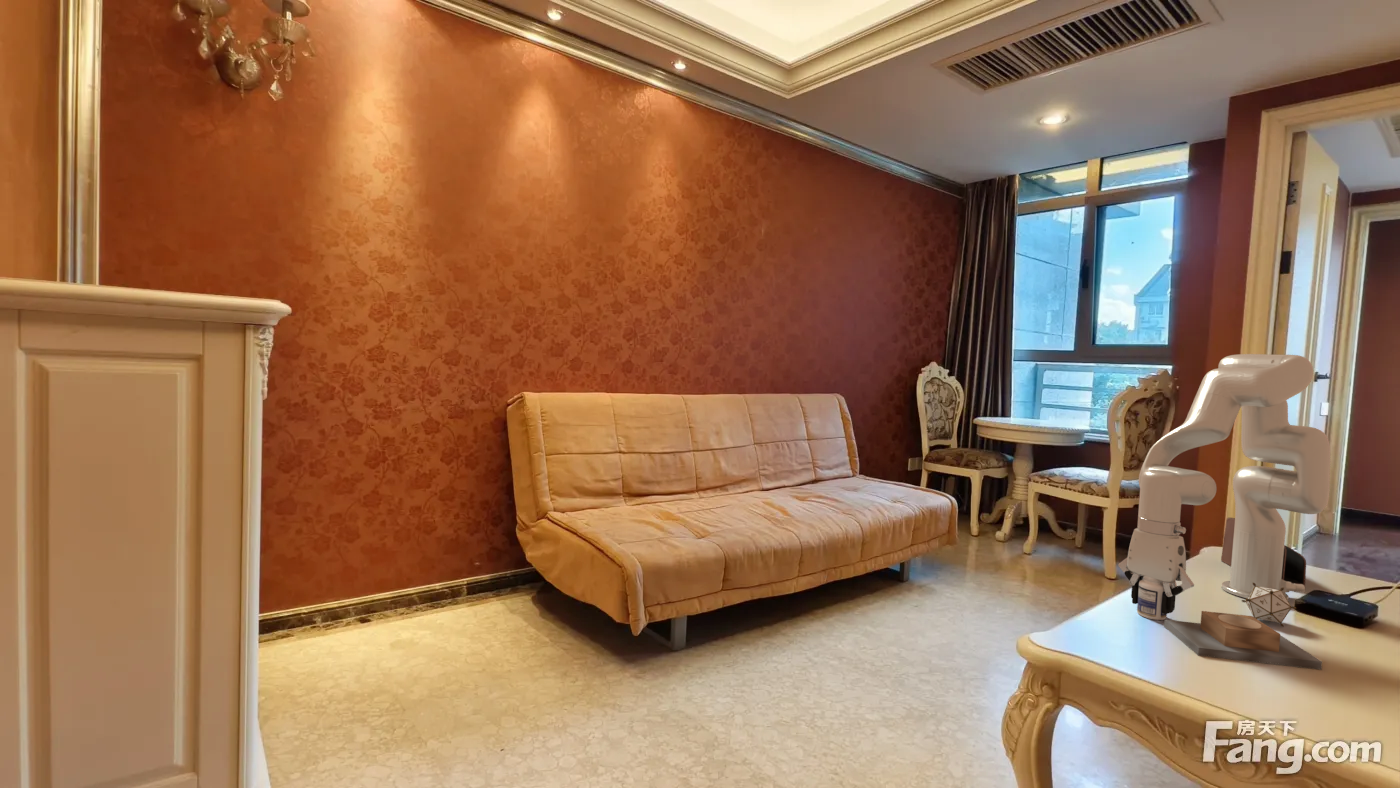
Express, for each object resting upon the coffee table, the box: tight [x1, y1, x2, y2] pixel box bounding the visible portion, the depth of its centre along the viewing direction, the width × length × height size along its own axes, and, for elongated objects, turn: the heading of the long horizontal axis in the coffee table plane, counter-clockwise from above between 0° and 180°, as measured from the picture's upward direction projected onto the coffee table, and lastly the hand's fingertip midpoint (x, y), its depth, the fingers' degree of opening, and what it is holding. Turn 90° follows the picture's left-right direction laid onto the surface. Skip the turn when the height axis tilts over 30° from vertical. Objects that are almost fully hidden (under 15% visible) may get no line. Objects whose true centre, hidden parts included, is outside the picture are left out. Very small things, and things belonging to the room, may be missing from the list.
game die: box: [1241, 583, 1297, 628], centre depth 144 cm, size 9×8×10 cm
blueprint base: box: [1163, 610, 1323, 671], centre depth 130 cm, size 20×14×5 cm
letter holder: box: [1220, 517, 1307, 587], centre depth 178 cm, size 10×20×14 cm, turn 165°
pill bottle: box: [1136, 576, 1168, 621], centre depth 145 cm, size 5×5×10 cm
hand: (1152, 606), depth 145 cm, fingers closed on pill bottle, 5 cm apart
